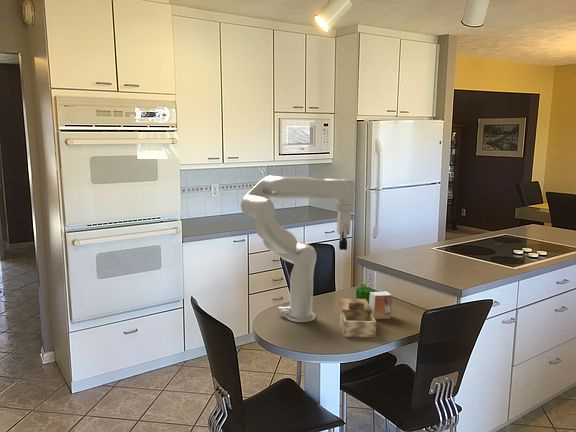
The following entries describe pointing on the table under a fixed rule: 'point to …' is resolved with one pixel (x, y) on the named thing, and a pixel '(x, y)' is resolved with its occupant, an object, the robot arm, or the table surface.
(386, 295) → the small box
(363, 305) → the lid
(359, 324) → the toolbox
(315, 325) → the table surface
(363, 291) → the bell pepper
